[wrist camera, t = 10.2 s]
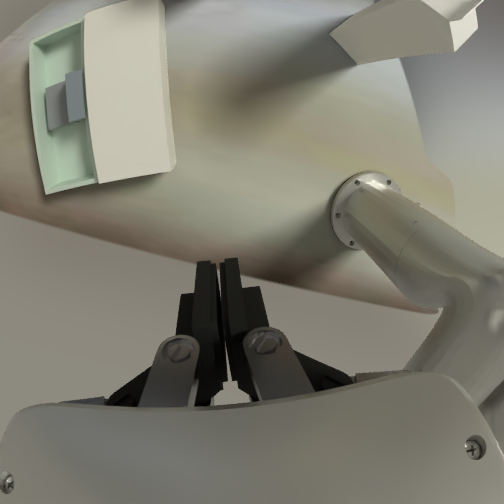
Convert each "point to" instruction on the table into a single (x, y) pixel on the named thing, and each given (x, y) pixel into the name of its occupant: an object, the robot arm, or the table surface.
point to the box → (47, 141)
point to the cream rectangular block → (128, 90)
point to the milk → (406, 29)
